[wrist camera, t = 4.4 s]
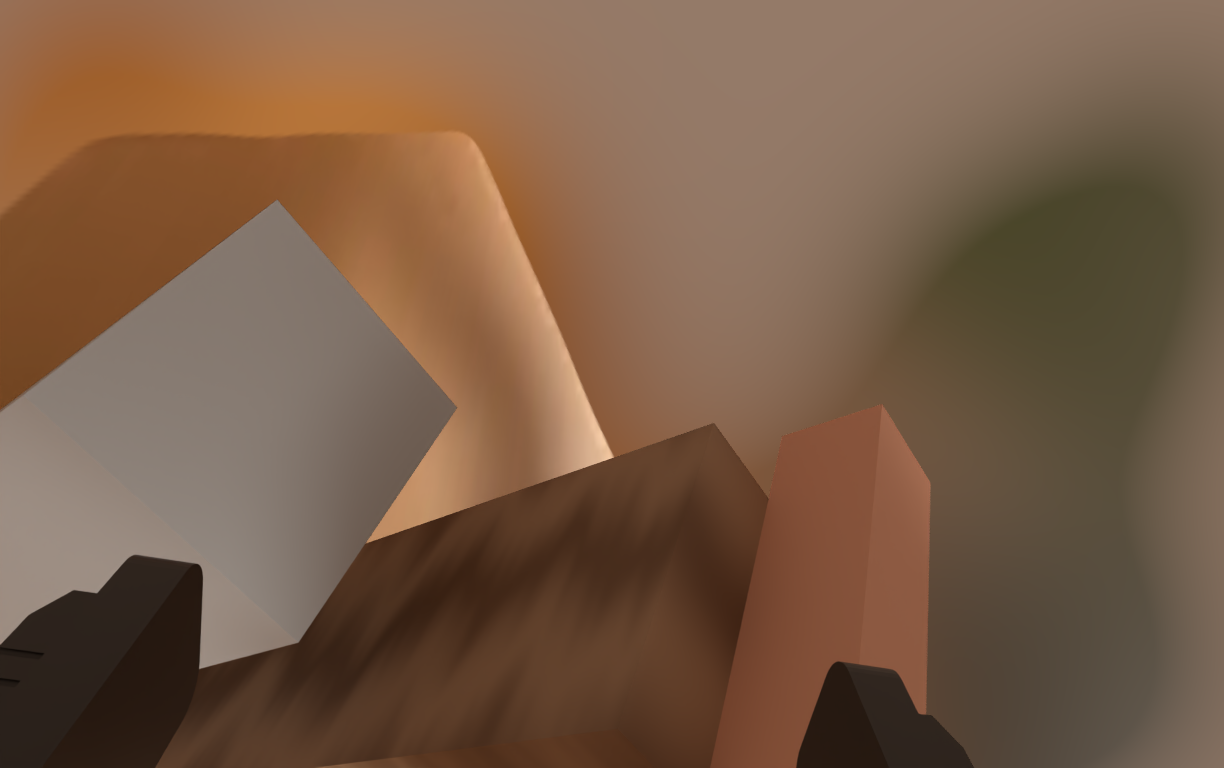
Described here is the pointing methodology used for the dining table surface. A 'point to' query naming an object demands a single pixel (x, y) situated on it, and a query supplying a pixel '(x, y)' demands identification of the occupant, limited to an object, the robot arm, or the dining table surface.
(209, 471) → the short post
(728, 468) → the tall post
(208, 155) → the dining table surface
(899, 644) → the light orange block
